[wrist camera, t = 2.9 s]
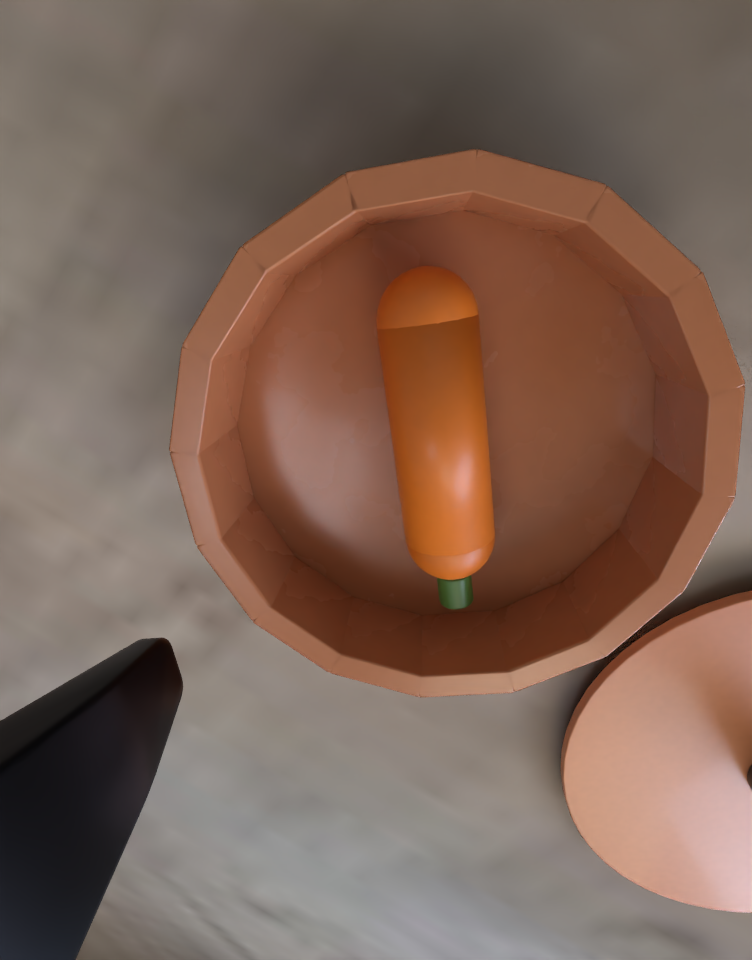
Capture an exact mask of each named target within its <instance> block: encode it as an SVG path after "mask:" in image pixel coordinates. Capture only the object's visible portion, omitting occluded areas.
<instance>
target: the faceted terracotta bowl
mask: <svg viewBox="0 0 752 960" xmlns="http://www.w3.org/2000/svg"><path fill="white" fill-rule="evenodd" d="M420 266H436V267H442V268H445V269H447V270H450V271H452V272H454V273H455V274H457V275H458V276H460V277H461V278H462V279H463V280H464V281H465V282H466V283H467V284H468V286H469V288H470V289H471V291H472V292H473V294H474V297H475V299H476V302H477V306H478V312H479V323H480V336H481V350H482V363H483V377H484V390H485V404H486V417H487V431H488V445H489V458H490V472H491V485H492V499H493V512H494V526H495V543H494V547H493V550H492V553H491V555H490V557H489V559H488V561H487V562H486V563H485V564H484V565H483V566H482V567H481V568H480V569H479V570H478V571H477V572H475V573H473V574H472V575H471V576H472V587H473V598H474V599H473V602H472V603H471V604H470V605H469V606H468V607H466V608H463V609H448V608H445V607H444V606H442V605H441V603H440V601H439V593H438V585H437V577H434V576H431V575H429V574H428V573H426V572H425V571H423V570H422V569H421V568H420V567H419V566H418V565H417V564H416V563H415V562H414V561H413V559H412V557H411V555H410V553H409V551H408V549H407V545H406V541H405V533H404V526H403V519H402V511H401V504H400V497H399V489H398V482H397V475H396V467H395V460H394V453H393V445H392V438H391V431H390V423H389V416H388V409H387V401H386V394H385V387H384V379H383V372H382V365H381V357H380V350H379V343H378V335H377V323H376V316H377V309H378V305H379V302H380V299H381V297H382V295H383V293H384V292H385V290H386V288H387V287H388V286H389V285H390V283H391V282H392V281H393V280H394V279H395V278H397V277H398V276H399V275H401V274H402V273H404V272H406V271H408V270H410V269H413V268H416V267H420ZM744 384H745V381H744V379H743V376H742V374H741V371H740V368H739V366H738V363H737V360H736V358H735V355H734V352H733V350H732V347H731V345H730V342H729V339H728V337H727V334H726V331H725V329H724V326H723V324H722V321H721V318H720V316H719V313H718V310H717V308H716V305H715V302H714V300H713V297H712V295H711V292H710V289H709V287H708V284H707V281H706V279H705V276H704V274H703V272H701V270H700V269H699V268H698V267H697V266H696V265H695V264H694V263H693V262H692V261H690V260H689V259H688V258H687V257H686V256H685V255H684V254H683V253H682V252H681V251H679V250H678V249H677V248H676V247H675V246H674V245H673V244H672V243H671V242H670V241H668V240H667V239H666V238H665V237H664V236H663V235H662V234H661V233H660V232H658V231H657V230H656V229H655V228H654V227H653V226H652V225H651V224H650V223H649V222H647V221H646V220H645V219H644V218H643V217H642V216H641V215H640V214H639V213H637V212H636V211H635V210H634V209H633V208H632V207H631V206H630V205H629V204H628V203H626V202H625V201H624V200H623V199H622V198H621V197H620V196H619V195H618V194H617V193H615V192H614V191H613V190H612V189H611V188H610V187H609V186H606V185H605V184H604V183H600V182H597V181H593V180H589V179H586V178H582V177H579V176H575V175H571V174H568V173H564V172H561V171H557V170H553V169H550V168H546V167H543V166H539V165H535V164H532V163H528V162H524V161H521V160H517V159H514V158H510V157H506V156H503V155H499V154H496V153H492V152H488V151H485V150H481V149H477V150H476V149H470V150H465V151H459V152H453V153H448V154H442V155H437V156H431V157H426V158H420V159H415V160H409V161H404V162H398V163H393V164H387V165H382V166H376V167H370V168H365V169H359V170H354V171H348V172H346V173H345V174H343V175H341V176H339V177H338V178H336V179H335V180H333V181H332V182H331V183H329V184H328V185H326V186H325V187H323V188H322V189H321V190H319V191H318V192H316V193H315V194H313V195H312V196H311V197H309V198H308V199H306V200H305V201H304V202H302V203H301V204H299V205H298V206H296V207H295V208H294V209H292V210H291V211H289V212H288V213H286V214H285V215H284V216H282V217H281V218H279V219H278V220H277V221H275V222H274V223H272V224H271V225H269V226H268V227H267V228H265V229H264V230H262V231H261V232H259V233H258V234H257V235H255V236H254V237H252V238H251V239H250V240H248V241H247V242H245V243H244V244H243V247H242V246H241V247H239V249H238V251H237V253H236V254H235V256H234V258H233V259H232V261H231V263H230V264H229V266H228V268H227V269H226V271H225V273H224V275H223V276H222V278H221V280H220V281H219V283H218V285H217V286H216V288H215V290H214V292H213V293H212V295H211V297H210V298H209V300H208V302H207V303H206V305H205V307H204V309H203V310H202V312H201V314H200V315H199V317H198V319H197V320H196V322H195V324H194V325H193V327H192V329H191V331H190V332H189V334H188V336H187V337H186V339H185V341H184V342H183V345H182V348H181V356H180V364H179V372H178V381H177V389H176V397H175V406H174V414H173V422H172V431H171V439H170V447H169V451H171V452H170V455H171V459H172V462H173V466H174V469H175V473H176V476H177V480H178V483H179V487H180V491H181V494H182V498H183V501H184V505H185V508H186V512H187V515H188V519H189V522H190V526H191V530H192V533H193V537H194V540H195V544H196V545H198V546H197V547H198V549H199V551H200V552H201V553H202V555H203V556H204V557H205V559H206V560H207V561H208V563H209V564H210V565H211V567H212V568H213V569H214V571H215V572H216V573H217V575H218V576H219V577H220V579H221V580H222V581H223V583H224V584H225V585H226V587H227V588H228V589H229V591H230V592H231V593H232V595H233V596H234V597H235V599H236V600H237V601H238V603H239V604H240V605H241V607H242V608H243V609H244V611H245V612H246V613H247V615H248V616H249V617H250V619H251V620H253V622H254V623H255V624H256V625H258V626H259V627H261V628H262V629H264V630H265V631H267V632H268V633H270V634H271V635H273V636H274V637H276V638H277V639H279V640H280V641H282V642H283V643H285V644H286V645H288V646H289V647H291V648H293V649H294V650H296V651H297V652H299V653H300V654H302V655H303V656H305V657H306V658H308V659H309V660H311V661H312V662H314V663H315V664H317V665H318V666H320V667H321V668H323V669H324V670H326V671H327V672H330V673H332V674H335V675H339V676H343V677H346V678H350V679H354V680H358V681H361V682H365V683H369V684H372V685H376V686H380V687H383V688H387V689H391V690H395V691H398V692H402V693H406V694H409V695H413V696H417V697H419V696H420V697H438V696H459V695H479V694H500V693H513V692H514V691H519V690H521V689H524V688H527V687H529V686H532V685H534V684H537V683H540V682H542V681H545V680H548V679H550V678H553V677H555V676H558V675H561V674H563V673H566V672H568V671H571V670H574V669H576V668H579V667H582V666H584V665H587V664H589V663H592V662H595V661H597V660H600V659H602V658H604V656H605V657H607V656H608V655H609V654H610V653H612V652H613V651H614V650H615V649H616V648H618V647H619V646H620V645H621V644H622V643H623V642H625V641H626V640H627V639H628V638H629V637H631V636H632V635H633V634H634V633H635V632H637V631H638V630H639V629H640V628H641V627H642V626H644V625H645V624H646V623H647V622H648V621H650V620H651V619H652V618H653V617H654V616H655V615H657V614H658V613H659V612H660V611H661V610H663V609H664V608H665V607H666V606H667V605H669V604H670V603H671V602H672V601H673V600H674V599H676V598H677V597H678V596H679V595H680V594H682V592H683V591H685V589H686V587H687V585H688V583H689V582H690V580H691V578H692V576H693V574H694V573H695V571H696V569H697V567H698V565H699V563H700V562H701V560H702V558H703V556H704V554H705V552H706V551H707V549H708V547H709V545H710V543H711V541H712V540H713V538H714V536H715V534H716V532H717V531H718V529H719V527H720V525H721V523H722V521H723V520H724V518H725V516H726V514H727V512H728V510H729V509H730V507H731V505H732V503H733V501H734V500H735V494H736V483H737V471H738V460H739V449H740V438H741V426H742V415H743V404H744V393H745V386H744Z"/></svg>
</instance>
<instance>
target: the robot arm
mask: <svg viewBox="0 0 752 960" xmlns="http://www.w3.org/2000/svg"><path fill="white" fill-rule="evenodd" d="M182 691H183V681H182V677H181V674H180V670H179V667H178V664H177V661H176V658H175V655H174V652H173V649H172V646H171V644H170V642H169V641H168V640H167V639H165V638H150V639H141V640H138V641H136V642H135V643H133V644H131V645H130V646H128V647H126V648H124V649H123V650H121V651H119V652H118V653H116V654H114V655H112V656H111V657H109V658H107V659H106V660H104V661H102V662H100V663H99V664H97V665H95V666H94V667H92V668H90V669H88V670H87V671H85V672H83V673H82V674H80V675H78V676H77V677H75V678H73V679H71V680H70V681H68V682H66V683H65V684H63V685H61V686H59V687H58V688H56V689H54V690H53V691H51V692H49V693H47V694H46V695H44V696H42V697H41V698H39V699H37V700H35V701H34V702H32V703H30V704H29V705H27V706H25V707H24V708H22V709H20V710H18V711H17V712H15V713H13V714H12V715H10V716H8V717H6V718H5V719H3V720H1V721H0V960H76V957H77V955H78V953H79V950H80V948H81V946H82V944H83V941H84V939H85V937H86V935H87V932H88V930H89V928H90V926H91V923H92V921H93V919H94V916H95V914H96V912H97V910H98V907H99V905H100V903H101V901H102V898H103V896H104V894H105V892H106V889H107V887H108V885H109V883H110V880H111V878H112V876H113V873H114V871H115V869H116V867H117V864H118V862H119V860H120V858H121V855H122V853H123V851H124V849H125V846H126V844H127V842H128V839H129V837H130V835H131V833H132V830H133V828H134V826H135V824H136V821H137V819H138V817H139V815H140V812H141V810H142V808H143V805H144V803H145V801H146V798H147V796H148V793H149V791H150V788H151V785H152V783H153V780H154V777H155V775H156V772H157V769H158V766H159V763H160V760H161V757H162V754H163V751H164V748H165V745H166V742H167V739H168V736H169V733H170V730H171V727H172V724H173V721H174V718H175V715H176V712H177V709H178V706H179V703H180V700H181V696H182Z"/></svg>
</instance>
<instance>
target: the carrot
mask: <svg viewBox="0 0 752 960" xmlns="http://www.w3.org/2000/svg"><path fill="white" fill-rule="evenodd" d="M376 323H377V335H378V343H379V350H380V357H381V365H382V372H383V379H384V387H385V394H386V401H387V409H388V416H389V423H390V431H391V438H392V445H393V453H394V460H395V467H396V475H397V482H398V489H399V497H400V504H401V511H402V519H403V526H404V533H405V541H406V545H407V549H408V551H409V553H410V555H411V557H412V559H413V561H414V562H415V563H416V564H417V565H418V566H419V567H420V568H421V569H422V570H423V571H425V572H426V573H428V574H429V575H431V576H434V577H437V585H438V593H439V601H440V603H441V605H442V606H444V607H445V608H448V609H463V608H466V607H468V606H469V605H470V604H471V603H472V602H473V599H474V598H473V587H472V576H471V575H472V574H473V573H475V572H477V571H478V570H479V569H480V568H481V567H482V566H483V565H484V564H485V563H486V562H487V561H488V559H489V557H490V555H491V553H492V550H493V547H494V543H495V526H494V512H493V499H492V485H491V472H490V458H489V445H488V431H487V417H486V404H485V390H484V377H483V363H482V350H481V336H480V323H479V312H478V306H477V302H476V299H475V297H474V294H473V292H472V291H471V289H470V288H469V286H468V284H467V283H466V282H465V281H464V280H463V279H462V278H461V277H460V276H458V275H457V274H455V273H454V272H452V271H450V270H447V269H445V268H442V267H436V266H420V267H416V268H413V269H410V270H408V271H406V272H404V273H402V274H401V275H399V276H398V277H397V278H395V279H394V280H393V281H392V282H391V283H390V285H389V286H388V287H387V288H386V290H385V292H384V293H383V295H382V297H381V299H380V302H379V305H378V309H377V316H376Z"/></svg>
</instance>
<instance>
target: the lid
mask: <svg viewBox="0 0 752 960" xmlns="http://www.w3.org/2000/svg"><path fill="white" fill-rule="evenodd" d="M560 771H561V779H562V787H563V792H564V796H565V799H566V802H567V805H568V809H569V812H570V815H571V817H572V819H573V821H574V823H575V825H576V827H577V829H578V831H579V833H580V834H581V835H582V837H583V838H584V839H585V841H586V842H587V843H588V845H589V846H590V848H591V849H592V850H593V851H594V852H595V853H596V854H597V855H598V856H599V857H600V858H601V859H602V860H603V861H604V862H605V863H606V864H607V865H609V866H610V867H611V868H613V869H614V870H615V871H617V872H618V873H619V874H621V875H622V876H623V877H625V878H627V879H629V880H630V881H632V882H634V883H636V884H637V885H639V886H641V887H643V888H645V889H647V890H650V891H652V892H654V893H656V894H659V895H661V896H663V897H667V898H670V899H673V900H676V901H679V902H682V903H685V904H690V905H694V906H699V907H703V908H708V909H715V910H723V911H730V912H745V913H752V590H751V591H747V592H743V593H738V594H734V595H730V596H727V597H724V598H721V599H718V600H715V601H712V602H709V603H706V604H703V605H701V606H698V607H696V608H694V609H692V610H689V611H687V612H685V613H683V614H681V615H678V616H676V617H674V618H672V619H670V620H668V621H667V622H665V623H663V624H661V625H660V626H658V627H656V628H655V629H653V630H651V631H649V632H648V633H646V634H645V635H643V636H642V637H641V638H639V639H638V640H637V641H635V642H634V643H633V644H631V645H630V646H628V647H627V648H626V649H624V650H623V651H622V652H621V653H620V654H619V655H618V656H617V657H616V658H615V659H614V660H612V661H611V662H610V663H609V664H608V665H607V666H606V667H605V668H604V669H603V670H602V671H601V673H600V674H599V675H598V676H597V677H596V679H595V680H594V681H593V682H592V684H591V685H590V686H589V687H588V688H587V690H586V692H585V693H584V695H583V697H582V698H581V700H580V701H579V703H578V705H577V706H576V708H575V710H574V712H573V715H572V717H571V720H570V722H569V724H568V727H567V729H566V733H565V738H564V742H563V746H562V751H561V769H560Z"/></svg>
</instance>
